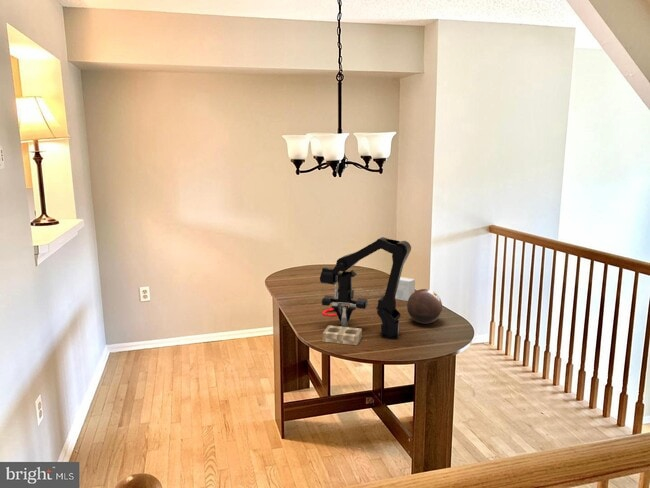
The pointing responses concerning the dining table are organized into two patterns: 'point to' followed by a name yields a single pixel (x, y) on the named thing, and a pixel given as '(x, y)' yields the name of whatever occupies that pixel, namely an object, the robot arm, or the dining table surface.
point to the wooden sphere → (424, 306)
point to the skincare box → (405, 288)
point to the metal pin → (344, 315)
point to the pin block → (342, 335)
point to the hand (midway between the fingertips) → (344, 321)
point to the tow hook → (331, 307)
